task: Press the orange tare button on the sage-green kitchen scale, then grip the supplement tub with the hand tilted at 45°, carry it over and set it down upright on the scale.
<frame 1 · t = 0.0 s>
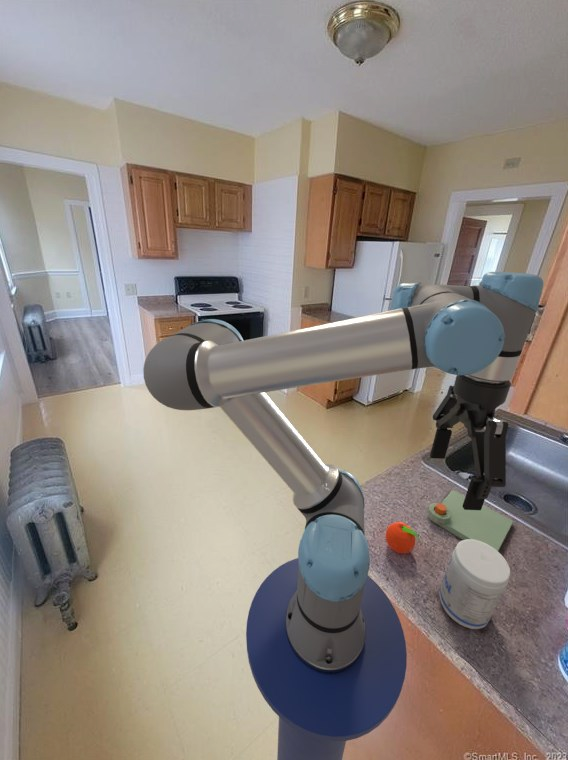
hand: (452, 480, 59), 30 cm above the worktop, tool pointing down, fingers open, 13 cm apart
clementine: (400, 548, 80), on the worktop
supplement tub: (462, 607, 68), on the worktop
tare button: (440, 509, 87), point 4 cm above the worktop, slide at 0.1 cm
scale: (470, 522, 88), on the worktop
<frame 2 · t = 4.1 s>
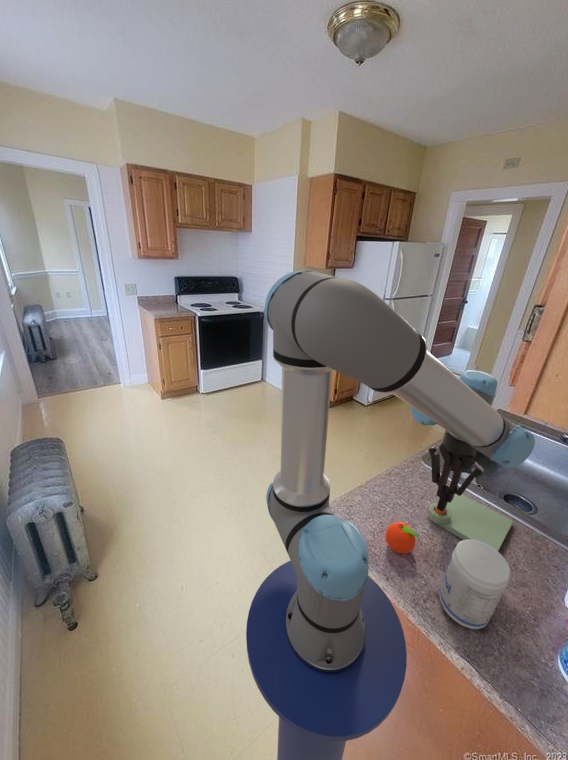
hand: (441, 507, 87), 5 cm above the worktop, tool pointing down, fingers closed
tare button: (440, 510, 87), point 3 cm above the worktop, slide at -0.4 cm, touching gripper
everything else where it was.
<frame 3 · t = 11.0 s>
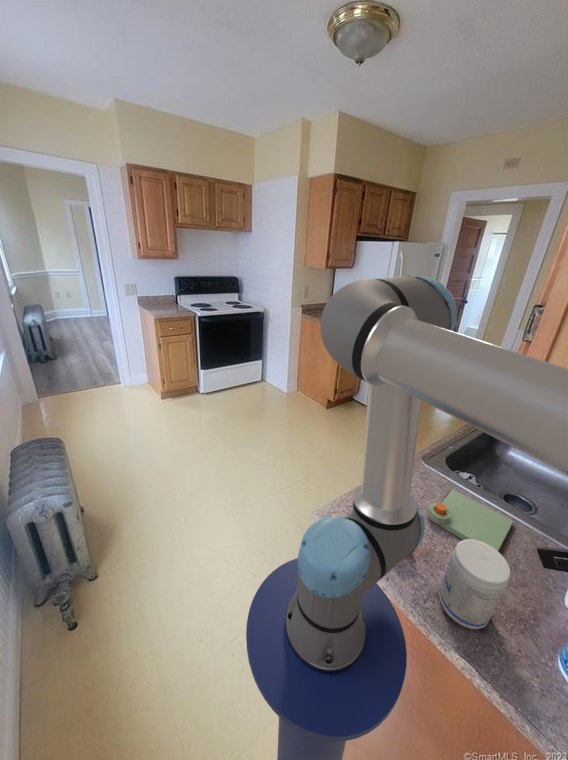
hand: (544, 557, 50), 26 cm above the worktop, tool tilted 45°, fingers closed
tare button: (440, 509, 87), point 4 cm above the worktop, slide at 0.1 cm
everything else where it was.
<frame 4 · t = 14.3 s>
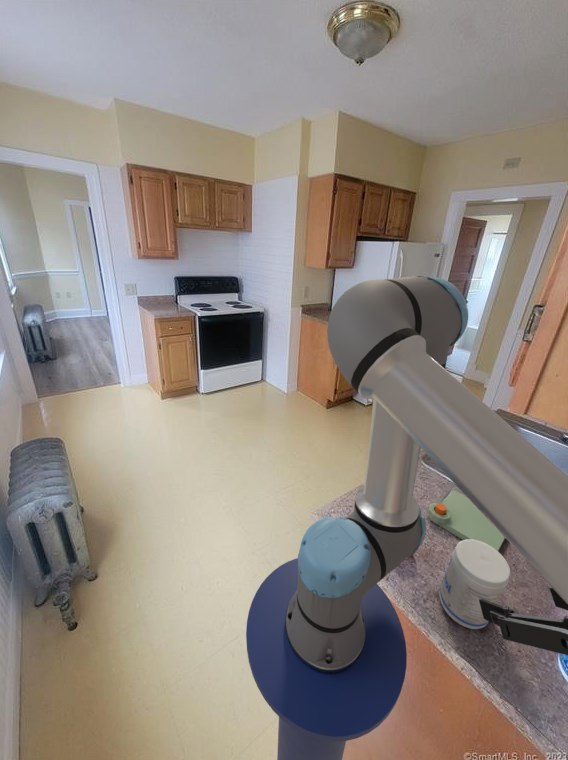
hand: (519, 602, 54), 15 cm above the worktop, tool tilted 45°, fingers open, 13 cm apart
nothing on the worktop moved.
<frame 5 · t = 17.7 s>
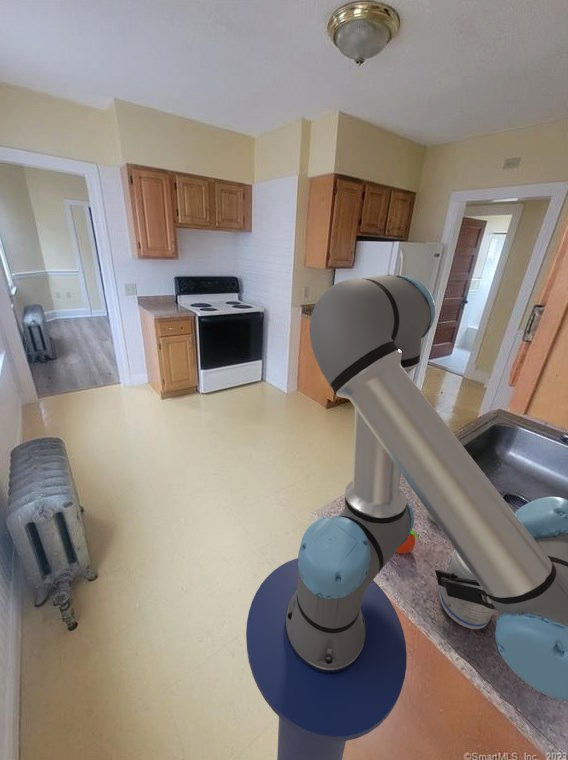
hand: (460, 574, 68), 6 cm above the worktop, tool tilted 45°, fingers closed on supplement tub, 9 cm apart
supplement tub: (462, 607, 68), on the worktop, touching gripper
everything else where it was.
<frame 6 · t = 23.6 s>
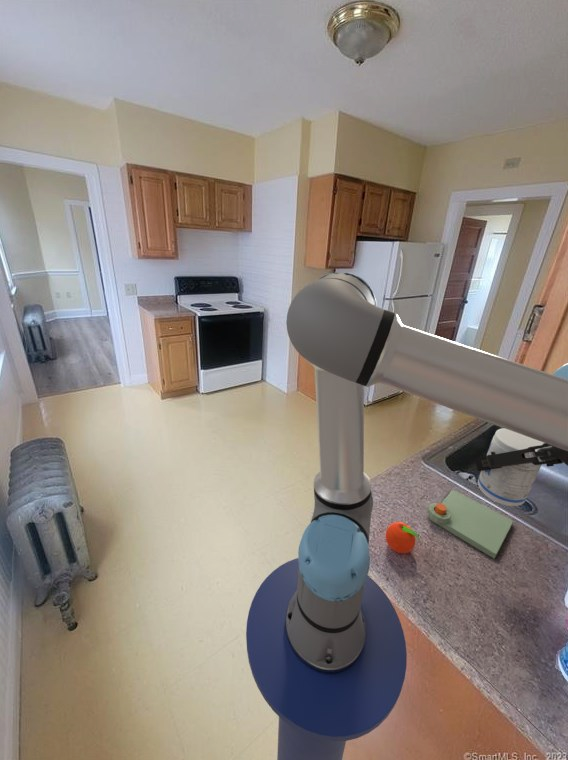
hand: (497, 463, 74), 24 cm above the worktop, tool tilted 45°, fingers closed on supplement tub, 9 cm apart
supplement tub: (500, 493, 74), point 18 cm above the worktop, touching gripper
everything else where it was.
when the fingers open (8 cm above the worktop, at t = 29.5 s): supplement tub stays where it is, resting on scale.
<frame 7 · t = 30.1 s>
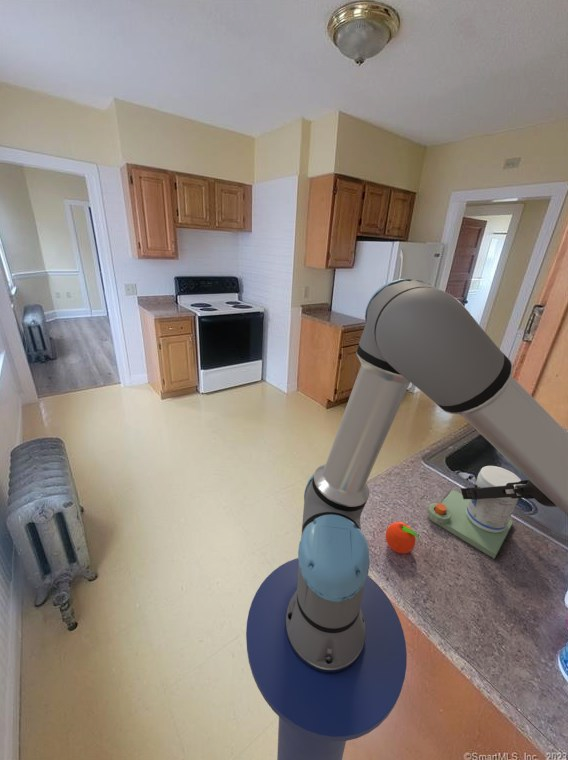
hand: (485, 491, 86), 9 cm above the worktop, tool tilted 45°, fingers open, 13 cm apart
supplement tub: (484, 520, 87), point 2 cm above the worktop, touching scale
everything else where it was.
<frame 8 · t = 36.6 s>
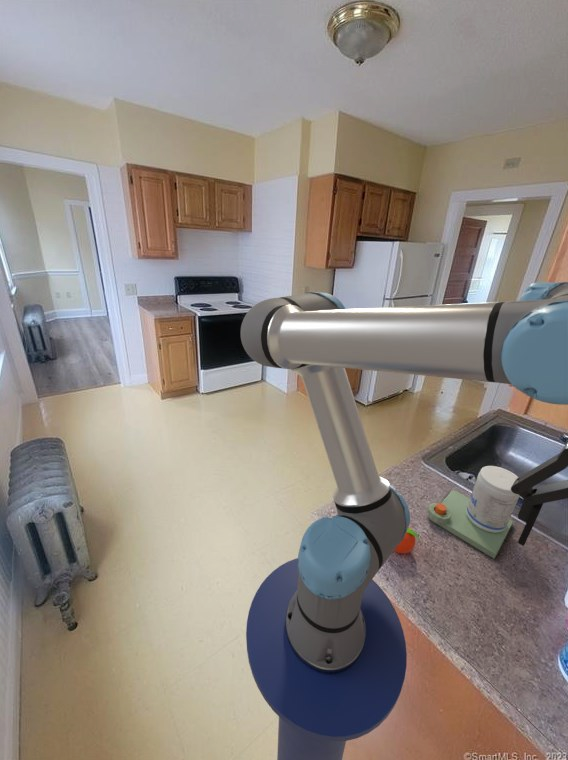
nothing on the worktop moved.
at the end: tare button pushed in 1.0 cm at the most during the clip, back to where it started at the end; supplement tub inside the target area on the scale (0.1 cm from its centre), point 1.5 cm above the scale's base; supplement tub touching scale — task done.
